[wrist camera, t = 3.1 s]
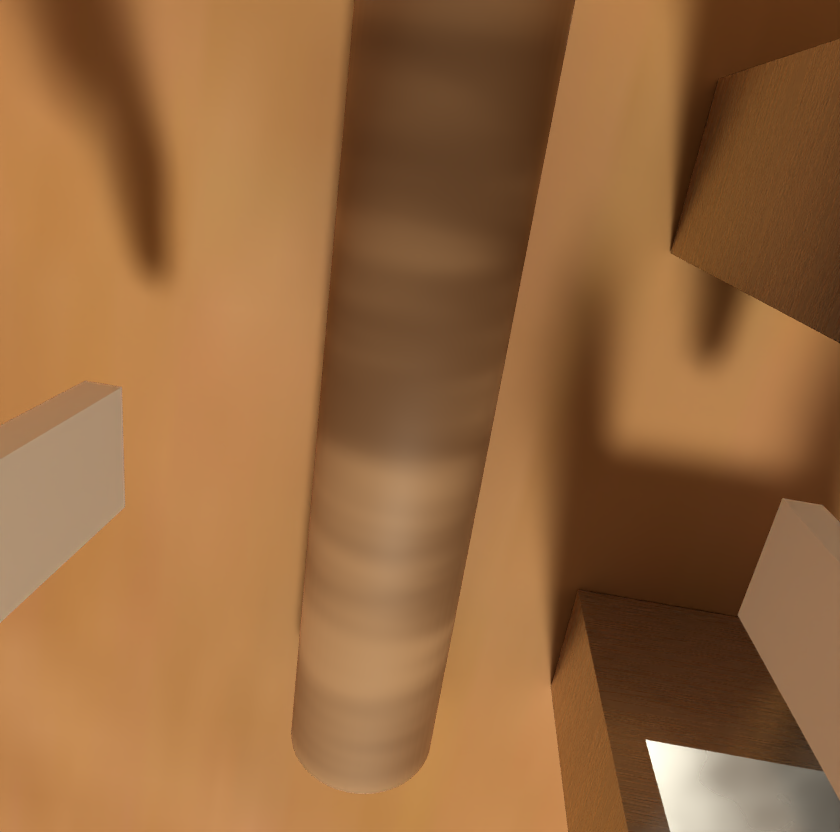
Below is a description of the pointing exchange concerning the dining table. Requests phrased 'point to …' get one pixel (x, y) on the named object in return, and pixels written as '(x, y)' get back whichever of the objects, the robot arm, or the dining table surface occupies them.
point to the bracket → (692, 629)
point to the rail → (414, 360)
